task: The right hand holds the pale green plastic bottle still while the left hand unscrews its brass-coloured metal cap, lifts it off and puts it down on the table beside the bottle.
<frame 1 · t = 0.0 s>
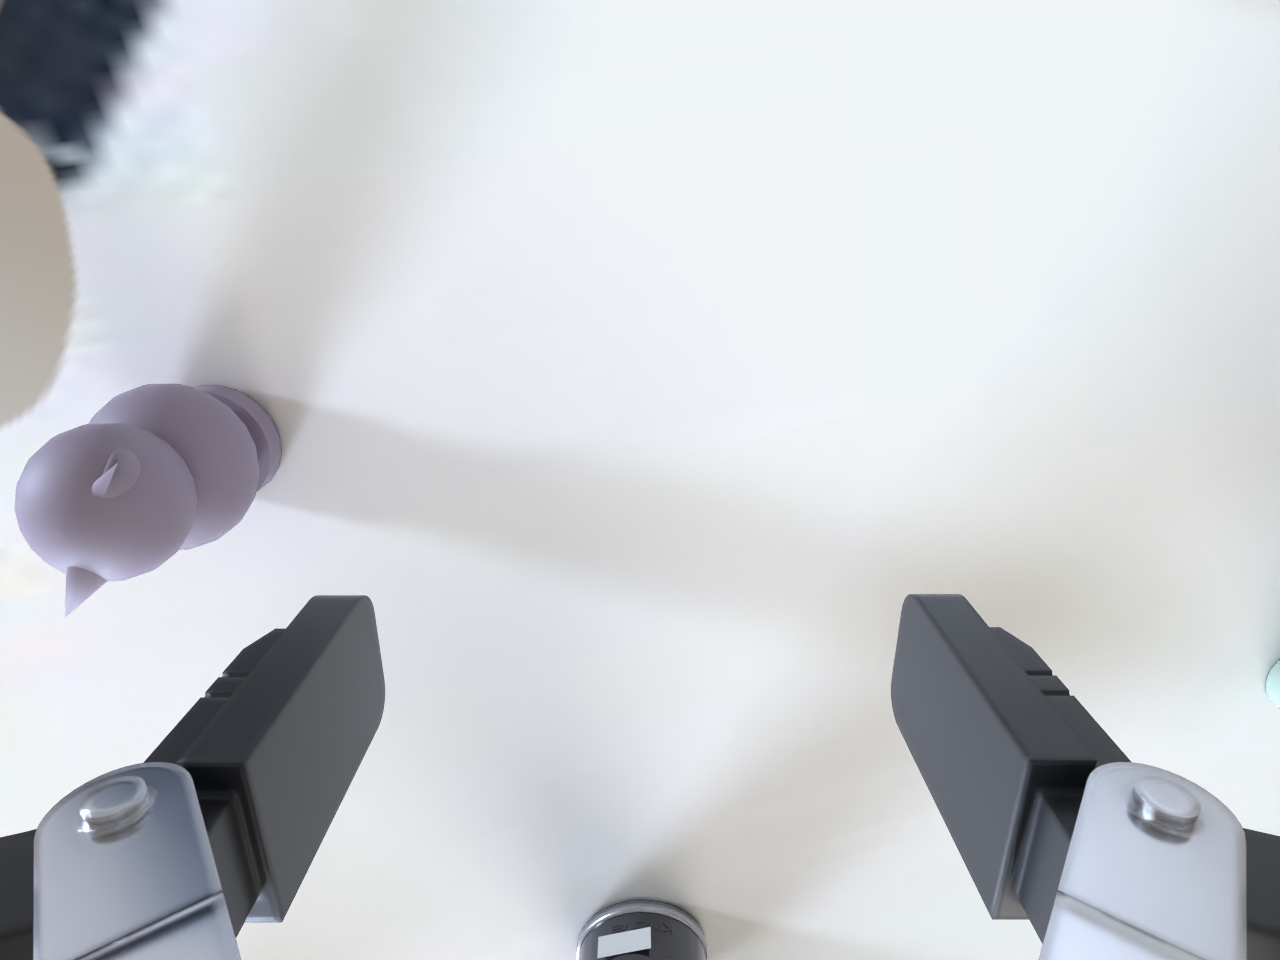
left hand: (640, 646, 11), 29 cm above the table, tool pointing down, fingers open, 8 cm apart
cat figurine: (223, 438, 41), on the table
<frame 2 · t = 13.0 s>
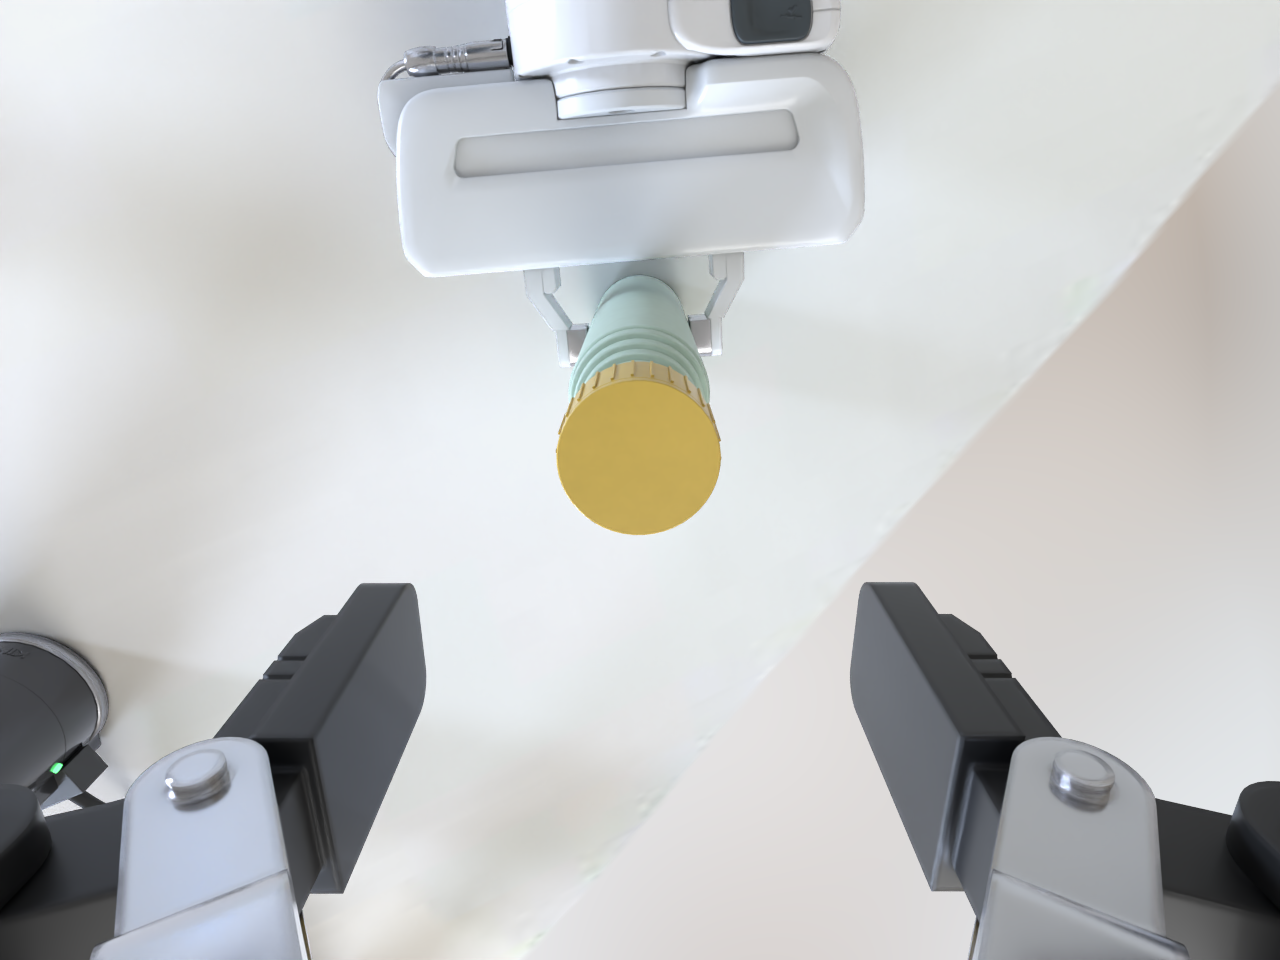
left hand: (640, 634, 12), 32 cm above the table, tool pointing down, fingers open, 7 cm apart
right hand: (642, 359, 36), fingers closed on bottle, 5 cm apart
bottle: (639, 319, 41), on the table, touching right hand
cap: (638, 457, 20), point 23 cm above the table, screwed on, not yet turned
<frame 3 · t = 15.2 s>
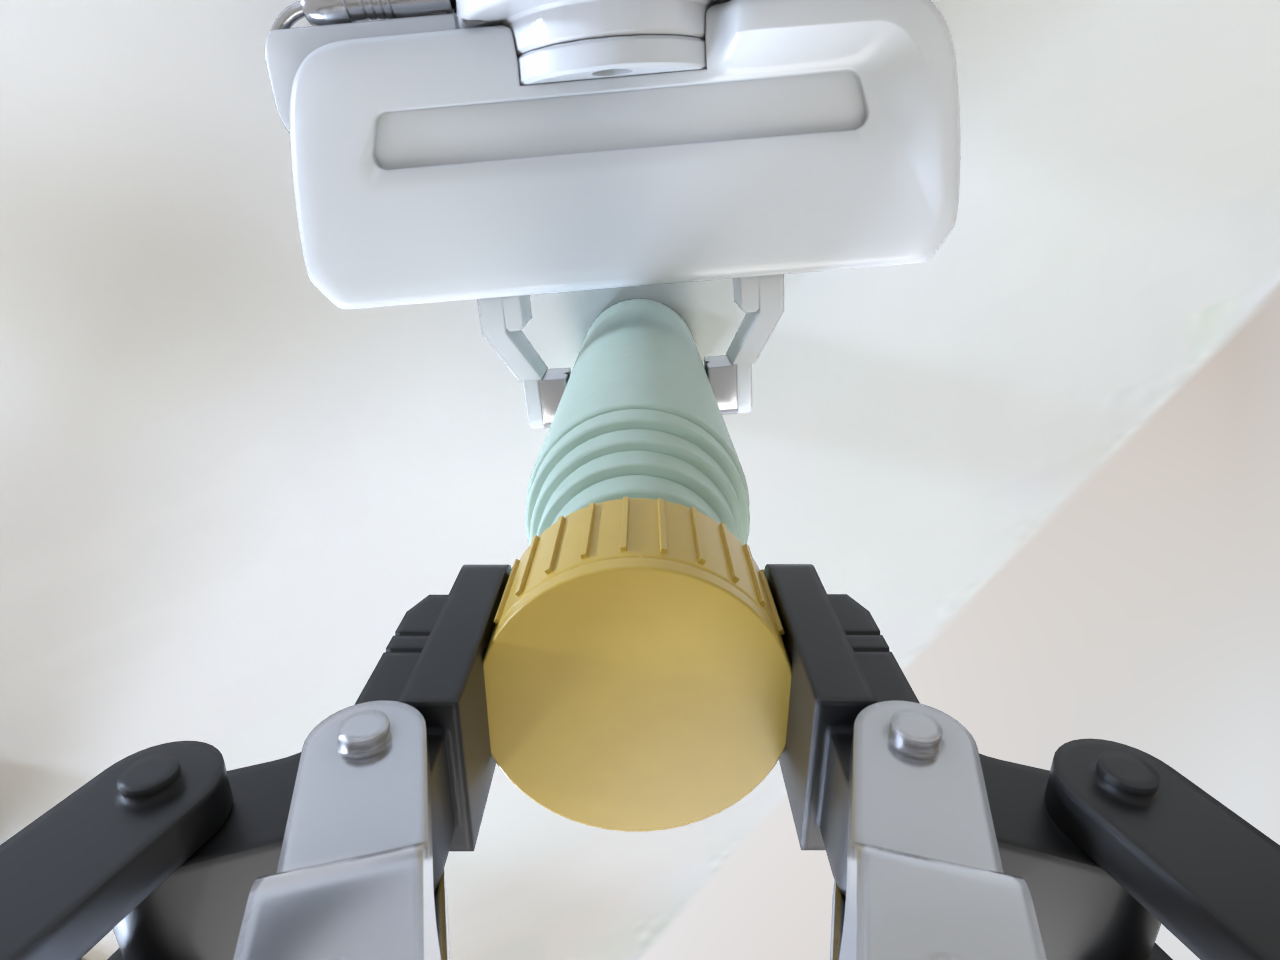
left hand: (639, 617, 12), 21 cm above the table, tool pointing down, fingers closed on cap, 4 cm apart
right hand: (642, 416, 26), fingers closed on bottle, 5 cm apart
bottle: (639, 355, 32), on the table, touching right hand
cap: (636, 695, 10), point 23 cm above the table, screwed on, not yet turned, touching left hand
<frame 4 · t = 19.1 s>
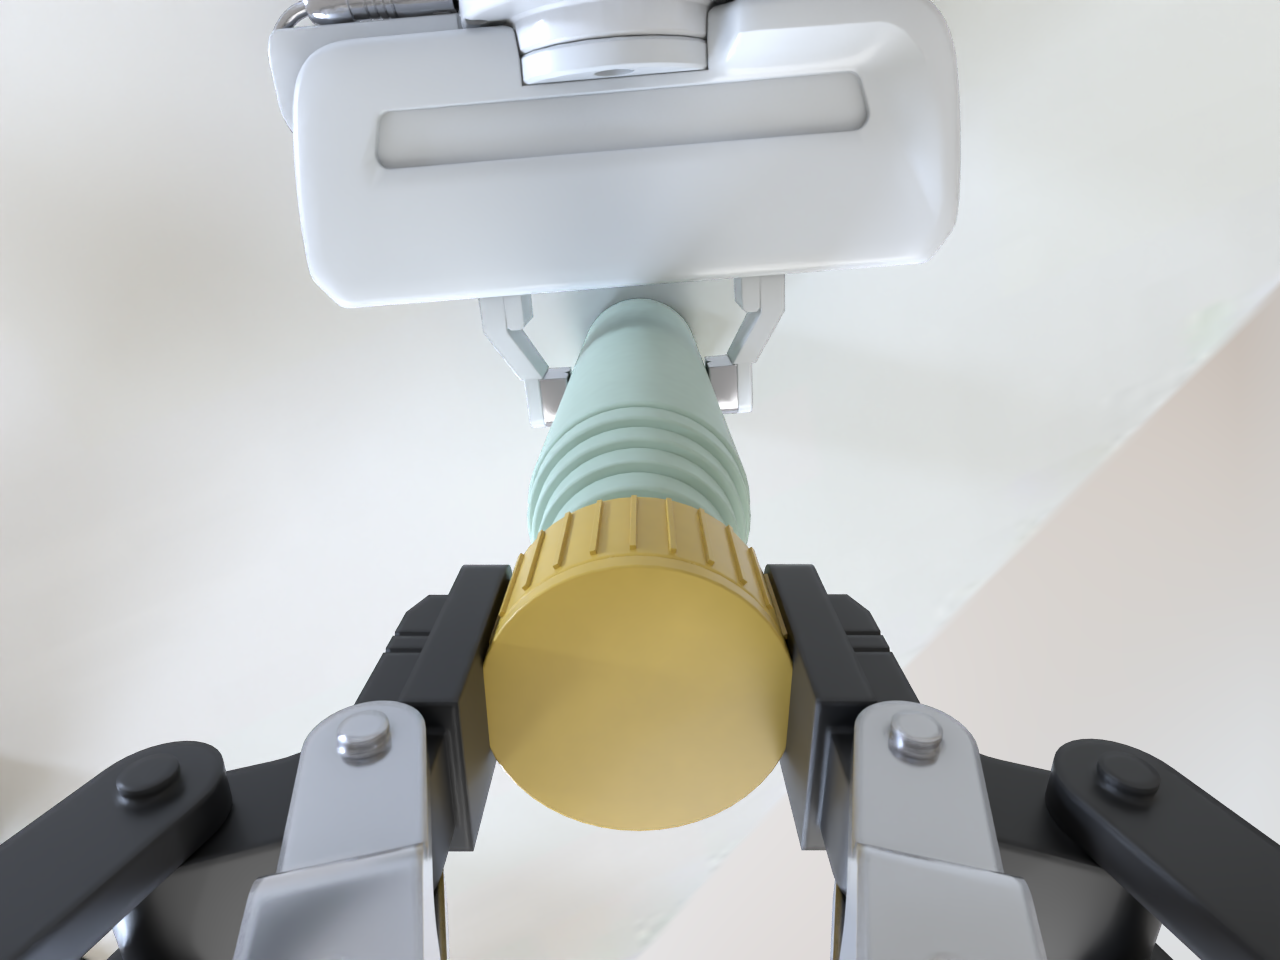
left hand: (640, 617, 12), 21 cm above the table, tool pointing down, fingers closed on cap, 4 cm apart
right hand: (642, 416, 26), fingers closed on bottle, 5 cm apart
bottle: (639, 355, 32), on the table, touching right hand
cap: (638, 694, 10), point 23 cm above the table, turned 94° so far, risen 0.1 cm, still on its thread, touching left hand
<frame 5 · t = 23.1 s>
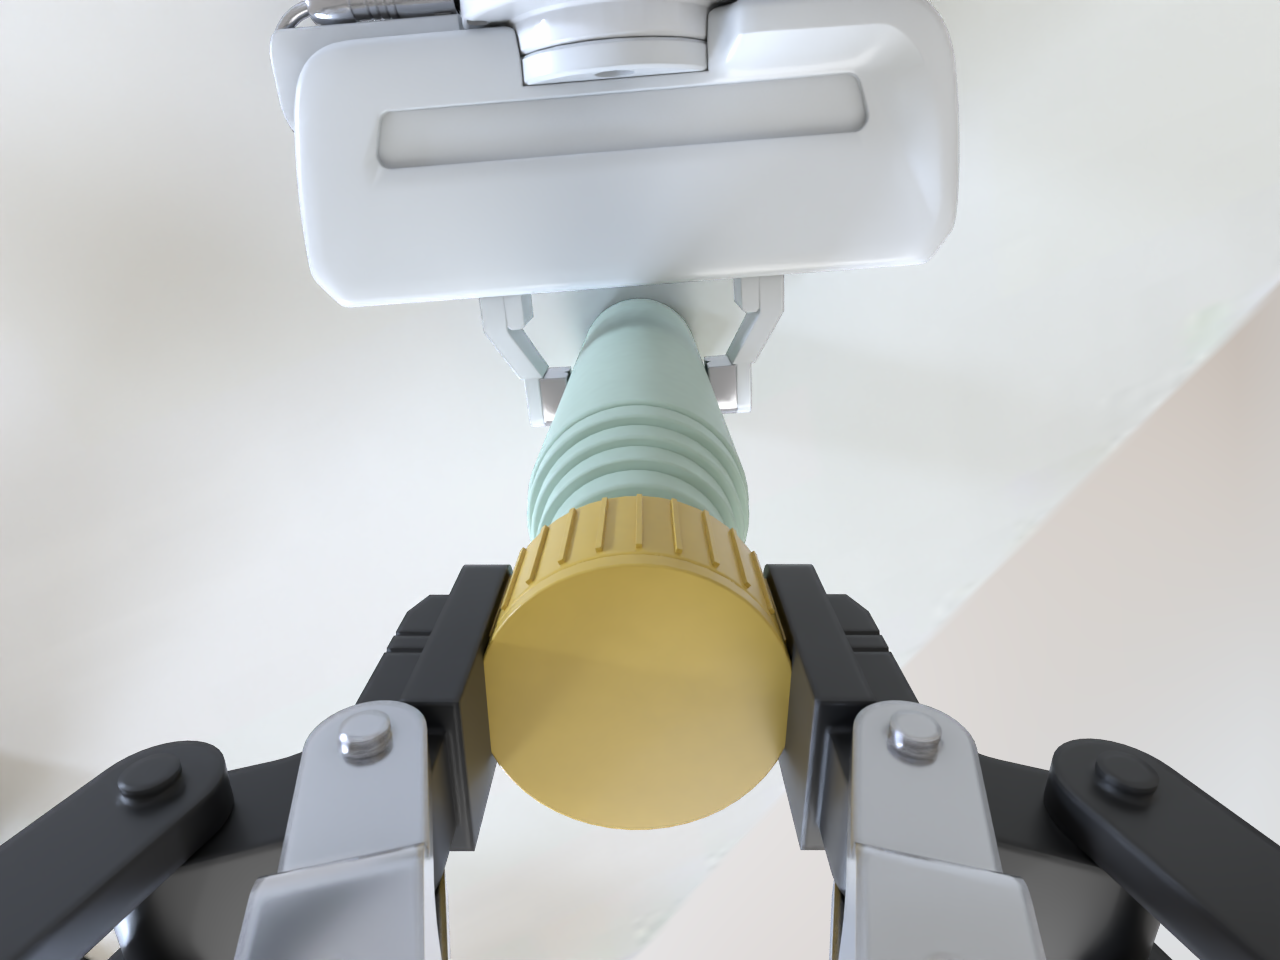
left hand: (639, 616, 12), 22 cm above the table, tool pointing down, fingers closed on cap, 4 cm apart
right hand: (642, 415, 26), fingers closed on bottle, 5 cm apart
bottle: (639, 355, 32), on the table, touching right hand
cap: (636, 693, 10), point 24 cm above the table, turned 189° so far, risen 0.2 cm, still on its thread, touching left hand
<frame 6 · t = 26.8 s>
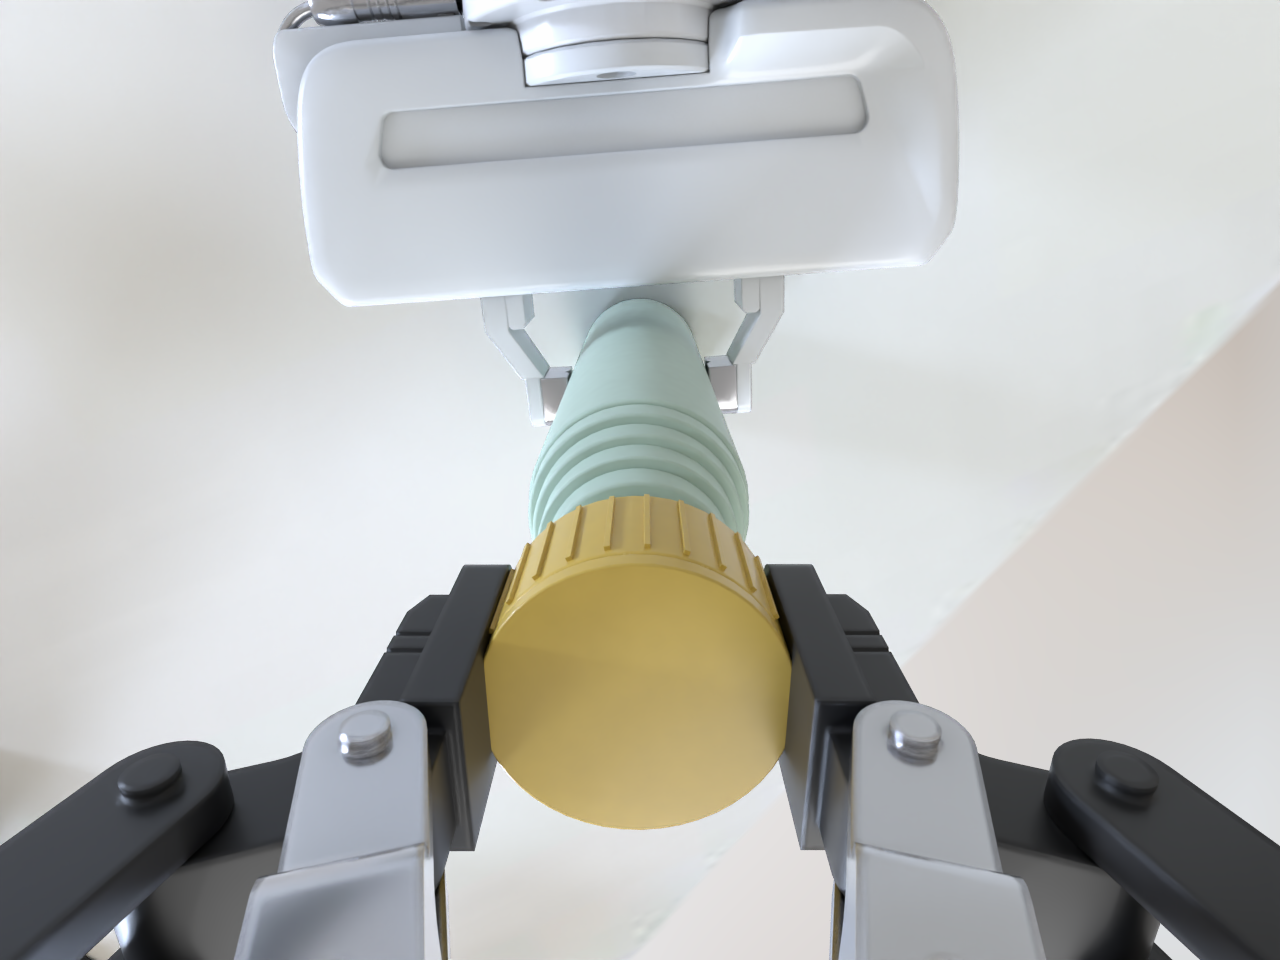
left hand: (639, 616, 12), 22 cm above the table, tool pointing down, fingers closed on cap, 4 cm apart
right hand: (642, 415, 27), fingers closed on bottle, 5 cm apart
bottle: (639, 355, 32), on the table, touching right hand
cap: (637, 693, 10), point 24 cm above the table, turned 283° so far, risen 0.3 cm, still on its thread, touching left hand
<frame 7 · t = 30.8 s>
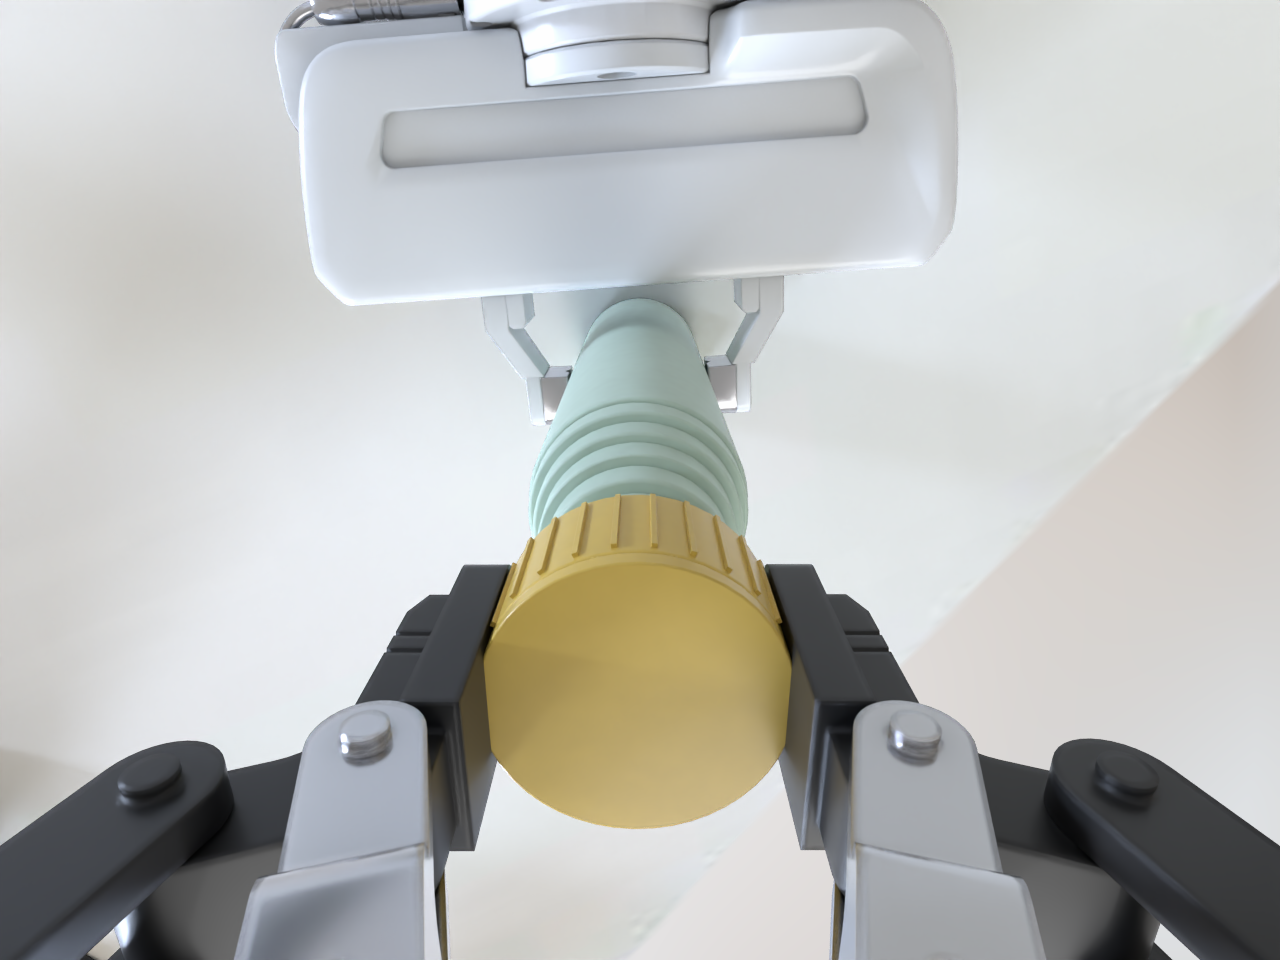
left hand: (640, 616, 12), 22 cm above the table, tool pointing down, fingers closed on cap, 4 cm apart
right hand: (642, 414, 27), fingers closed on bottle, 5 cm apart
bottle: (639, 354, 32), on the table, touching right hand
cap: (636, 692, 10), point 24 cm above the table, turned 377° so far, risen 0.4 cm, still on its thread, touching left hand
when the left hand's fingers open (1 cm above the table, at t = 38.6 s): cap drops 1 cm, point 2 cm above the table.
when the right hand's fingers open (6 cm above the table, at t = 39.7 s): bottle stays where it is, on the table.
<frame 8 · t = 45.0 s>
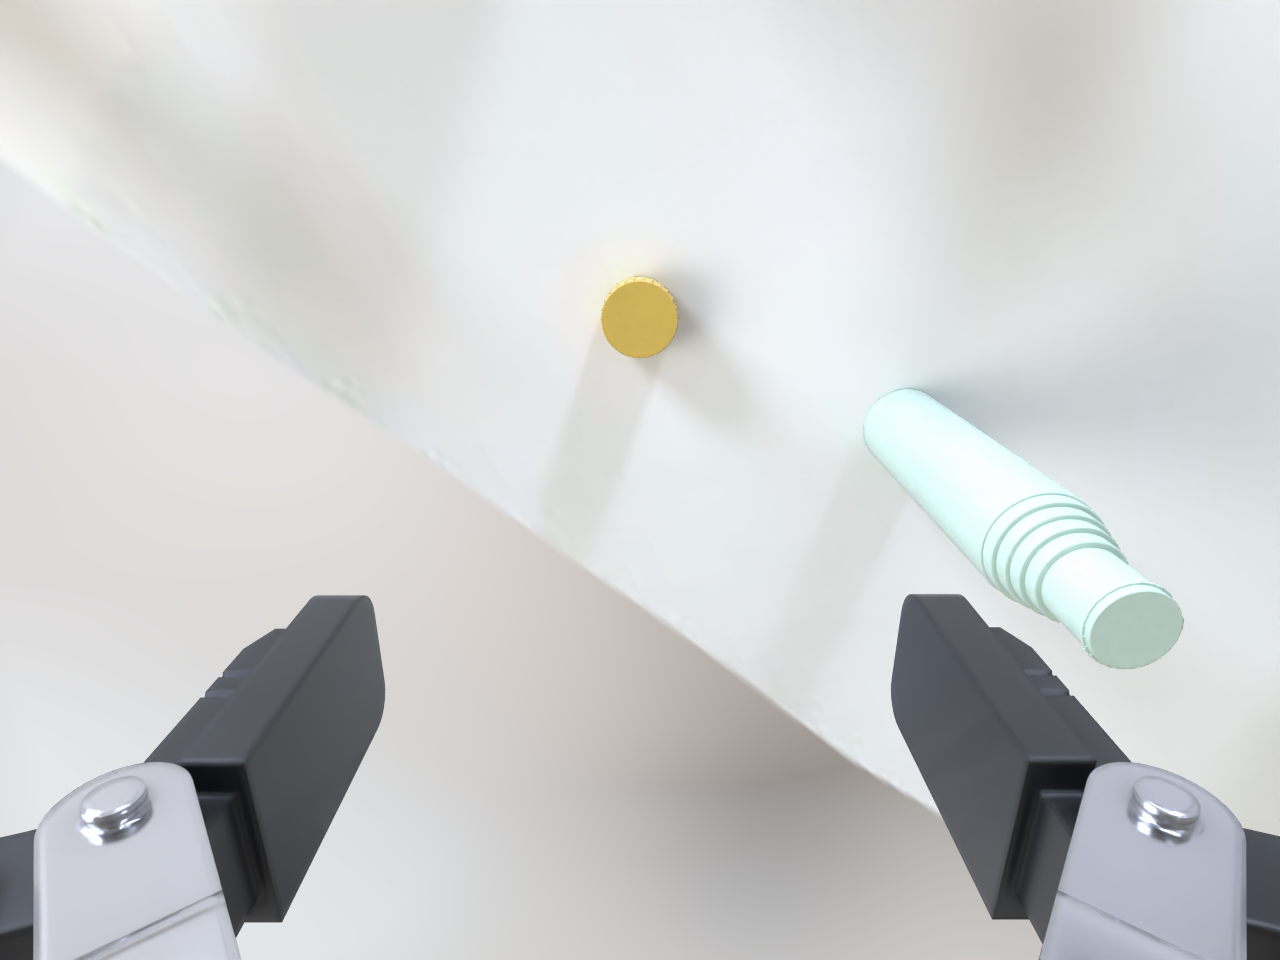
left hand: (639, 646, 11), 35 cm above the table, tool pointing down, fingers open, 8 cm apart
bottle: (902, 426, 46), on the table
cap: (639, 319, 42), point 2 cm above the table, off its thread
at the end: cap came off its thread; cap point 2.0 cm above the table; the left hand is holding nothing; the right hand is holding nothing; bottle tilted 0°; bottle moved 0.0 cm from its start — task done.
